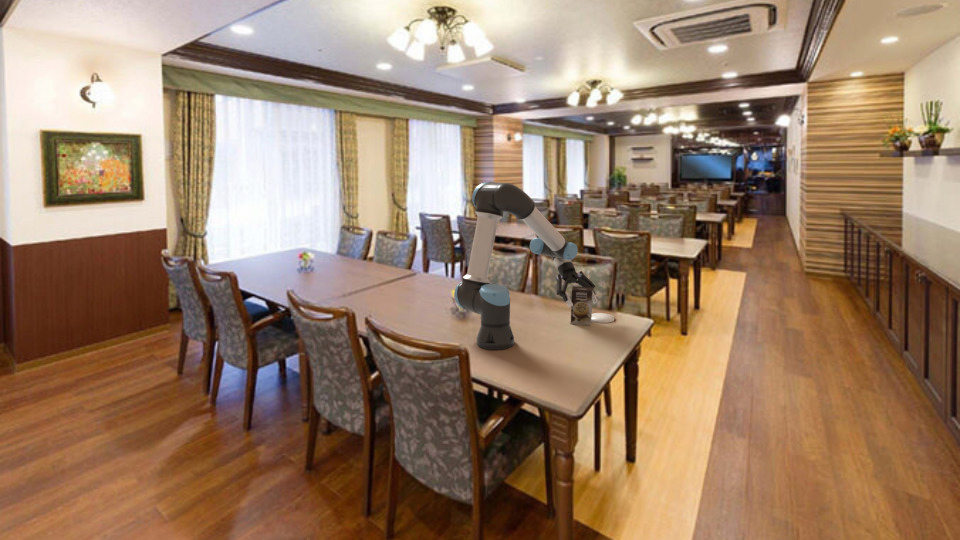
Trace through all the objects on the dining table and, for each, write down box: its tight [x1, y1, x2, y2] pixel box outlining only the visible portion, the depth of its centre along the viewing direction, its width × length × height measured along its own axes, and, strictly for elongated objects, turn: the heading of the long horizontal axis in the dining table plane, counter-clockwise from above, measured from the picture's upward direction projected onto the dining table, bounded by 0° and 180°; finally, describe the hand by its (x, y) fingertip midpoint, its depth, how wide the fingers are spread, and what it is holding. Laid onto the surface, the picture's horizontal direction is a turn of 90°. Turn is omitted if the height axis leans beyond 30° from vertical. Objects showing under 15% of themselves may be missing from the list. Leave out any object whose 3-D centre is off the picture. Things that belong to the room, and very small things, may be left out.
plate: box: [591, 312, 615, 324], centre depth 225 cm, size 12×12×1 cm
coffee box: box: [569, 286, 594, 326], centre depth 219 cm, size 9×6×16 cm
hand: (583, 304), depth 219 cm, fingers open, 13 cm apart
